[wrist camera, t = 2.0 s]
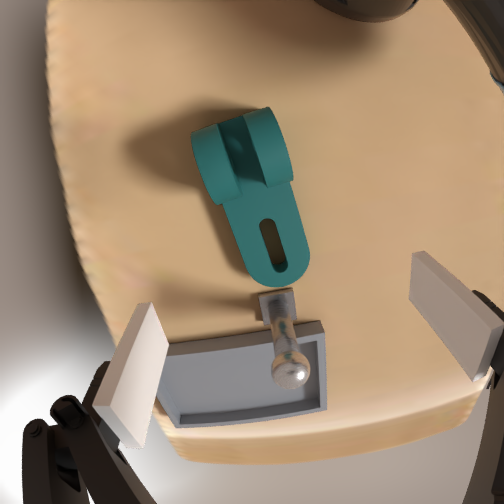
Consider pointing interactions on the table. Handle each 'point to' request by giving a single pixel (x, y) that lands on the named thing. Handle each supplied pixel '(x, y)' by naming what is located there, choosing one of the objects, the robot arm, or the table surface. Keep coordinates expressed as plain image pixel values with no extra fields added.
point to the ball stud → (284, 339)
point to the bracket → (254, 191)
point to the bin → (239, 380)
